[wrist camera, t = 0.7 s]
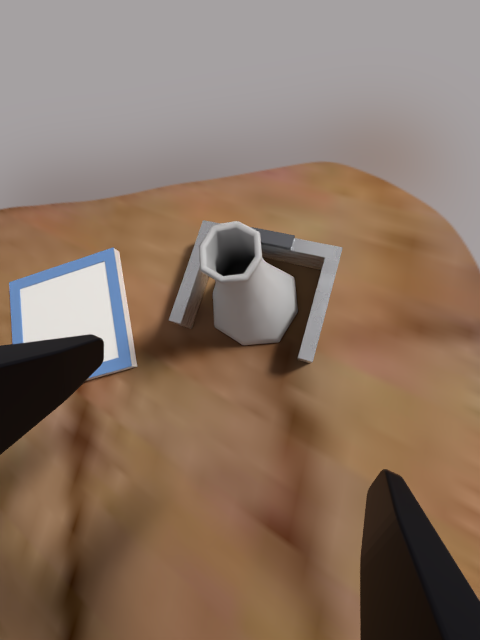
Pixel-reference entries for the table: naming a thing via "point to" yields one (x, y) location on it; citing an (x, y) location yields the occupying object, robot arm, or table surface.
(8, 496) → the table surface
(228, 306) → the flask
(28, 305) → the white tile
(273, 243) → the grey u-shaped bracket
